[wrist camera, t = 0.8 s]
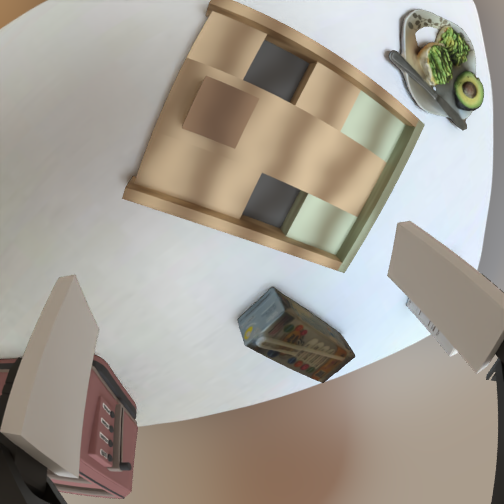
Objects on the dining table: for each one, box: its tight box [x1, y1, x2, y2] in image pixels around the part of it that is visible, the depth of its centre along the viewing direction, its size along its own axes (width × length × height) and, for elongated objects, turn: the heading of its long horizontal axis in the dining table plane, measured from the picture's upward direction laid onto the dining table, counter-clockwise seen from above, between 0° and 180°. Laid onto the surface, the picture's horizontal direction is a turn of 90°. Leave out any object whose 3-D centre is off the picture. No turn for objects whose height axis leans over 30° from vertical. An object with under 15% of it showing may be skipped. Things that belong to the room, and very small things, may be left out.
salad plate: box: [389, 9, 484, 130], centre depth 28 cm, size 19×18×5 cm
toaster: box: [0, 355, 138, 499], centre depth 35 cm, size 19×34×20 cm, turn 96°
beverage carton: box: [238, 287, 355, 383], centre depth 43 cm, size 8×19×7 cm, turn 46°
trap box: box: [122, 0, 424, 273], centre depth 29 cm, size 28×22×4 cm
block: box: [182, 76, 259, 149], centre depth 24 cm, size 5×5×4 cm
